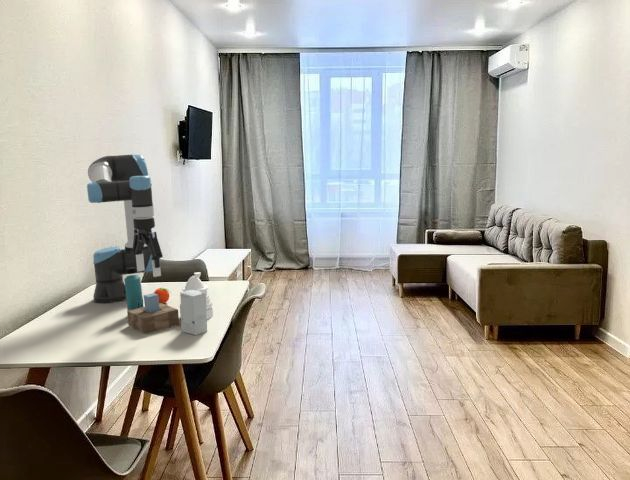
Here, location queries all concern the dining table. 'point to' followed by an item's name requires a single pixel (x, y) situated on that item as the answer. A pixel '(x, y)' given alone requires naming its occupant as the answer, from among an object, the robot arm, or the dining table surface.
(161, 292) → the red tomato
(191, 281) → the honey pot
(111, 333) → the dining table surface
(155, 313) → the socket block
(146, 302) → the peg
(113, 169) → the robot arm
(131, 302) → the beverage bottle
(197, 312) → the skincare box
